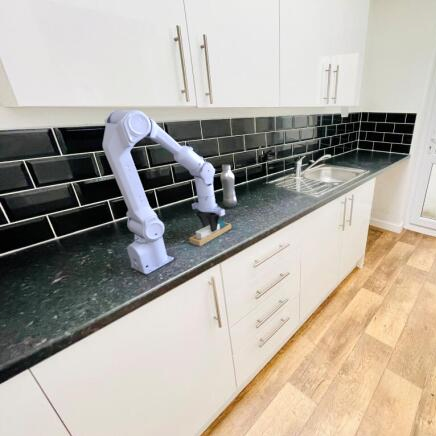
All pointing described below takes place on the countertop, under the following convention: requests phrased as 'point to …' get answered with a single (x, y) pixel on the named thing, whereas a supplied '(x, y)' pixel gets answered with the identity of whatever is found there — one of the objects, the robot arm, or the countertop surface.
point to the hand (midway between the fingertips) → (211, 229)
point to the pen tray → (210, 237)
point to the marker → (208, 230)
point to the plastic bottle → (228, 186)
